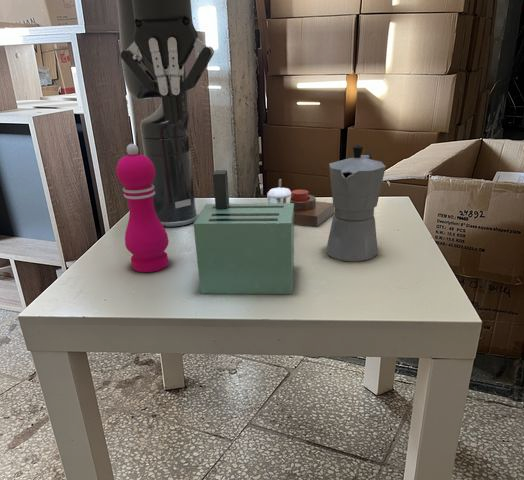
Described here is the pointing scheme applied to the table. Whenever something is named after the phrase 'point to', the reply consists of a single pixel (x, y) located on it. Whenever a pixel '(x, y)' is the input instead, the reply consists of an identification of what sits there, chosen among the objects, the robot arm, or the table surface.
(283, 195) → the milkshake
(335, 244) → the coffeepot
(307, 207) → the block
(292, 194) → the button
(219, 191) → the dark grey upright bar
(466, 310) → the table surface
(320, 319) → the table surface
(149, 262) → the pepper mill
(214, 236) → the toaster
